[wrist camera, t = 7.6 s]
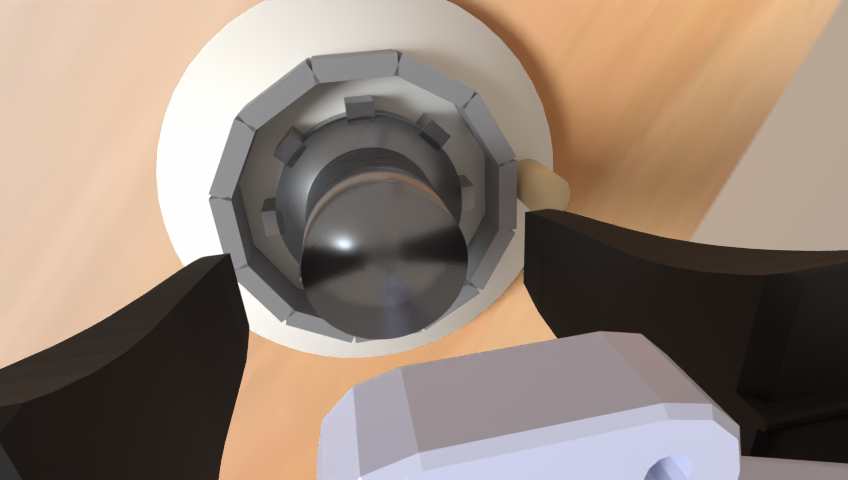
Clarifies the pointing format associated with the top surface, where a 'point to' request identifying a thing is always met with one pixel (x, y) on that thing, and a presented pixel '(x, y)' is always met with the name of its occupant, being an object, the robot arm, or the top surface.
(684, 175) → the top surface
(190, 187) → the plate
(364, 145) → the planet gear
